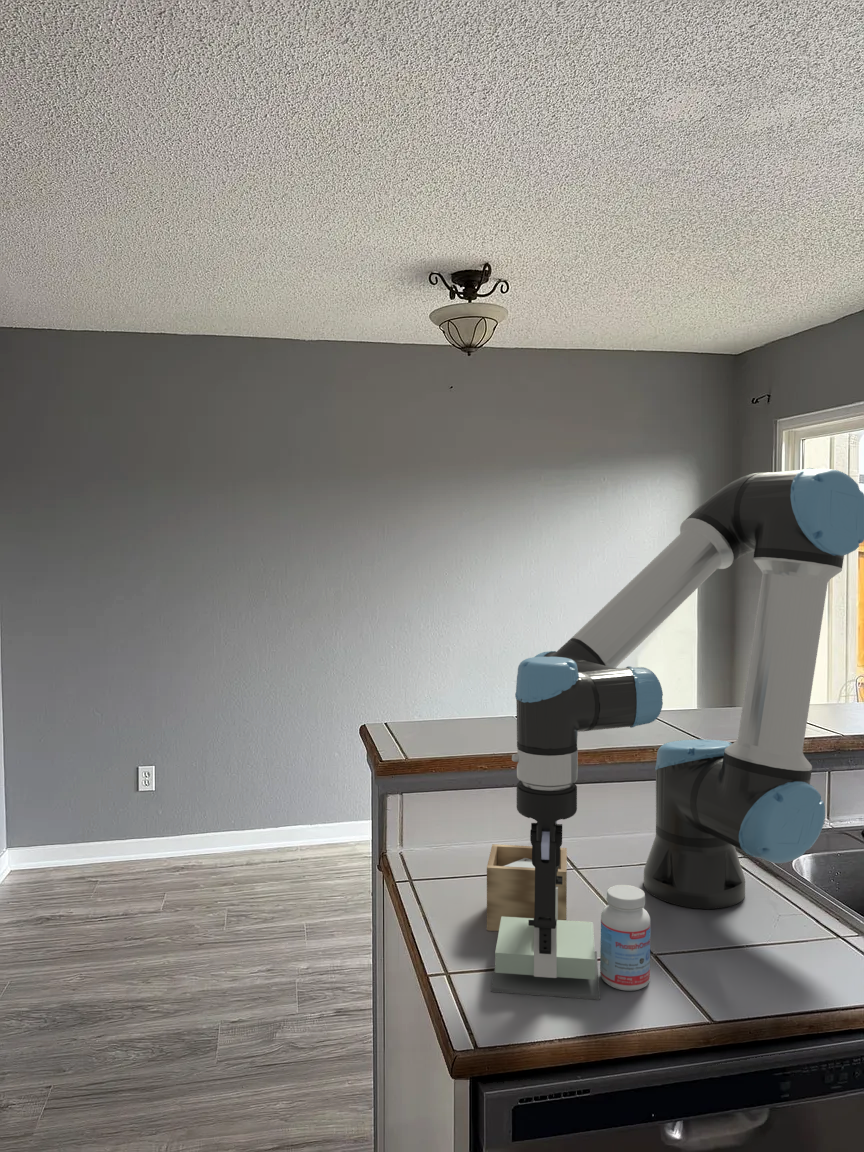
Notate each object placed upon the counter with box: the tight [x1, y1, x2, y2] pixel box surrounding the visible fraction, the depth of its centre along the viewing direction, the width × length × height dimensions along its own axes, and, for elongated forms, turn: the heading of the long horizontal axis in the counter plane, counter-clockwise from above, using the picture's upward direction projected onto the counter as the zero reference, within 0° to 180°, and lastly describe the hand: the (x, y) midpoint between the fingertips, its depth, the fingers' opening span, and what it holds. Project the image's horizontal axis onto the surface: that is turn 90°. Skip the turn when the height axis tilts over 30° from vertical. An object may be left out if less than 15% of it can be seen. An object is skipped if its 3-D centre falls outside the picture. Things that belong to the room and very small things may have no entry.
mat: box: [490, 950, 601, 1001], centre depth 112 cm, size 13×11×1 cm
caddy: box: [486, 843, 568, 932], centre depth 127 cm, size 11×9×9 cm
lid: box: [494, 916, 596, 980], centre depth 112 cm, size 12×10×4 cm
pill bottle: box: [599, 884, 651, 992], centre depth 110 cm, size 6×6×11 cm
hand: (546, 954), depth 112 cm, fingers closed on lid, 10 cm apart
